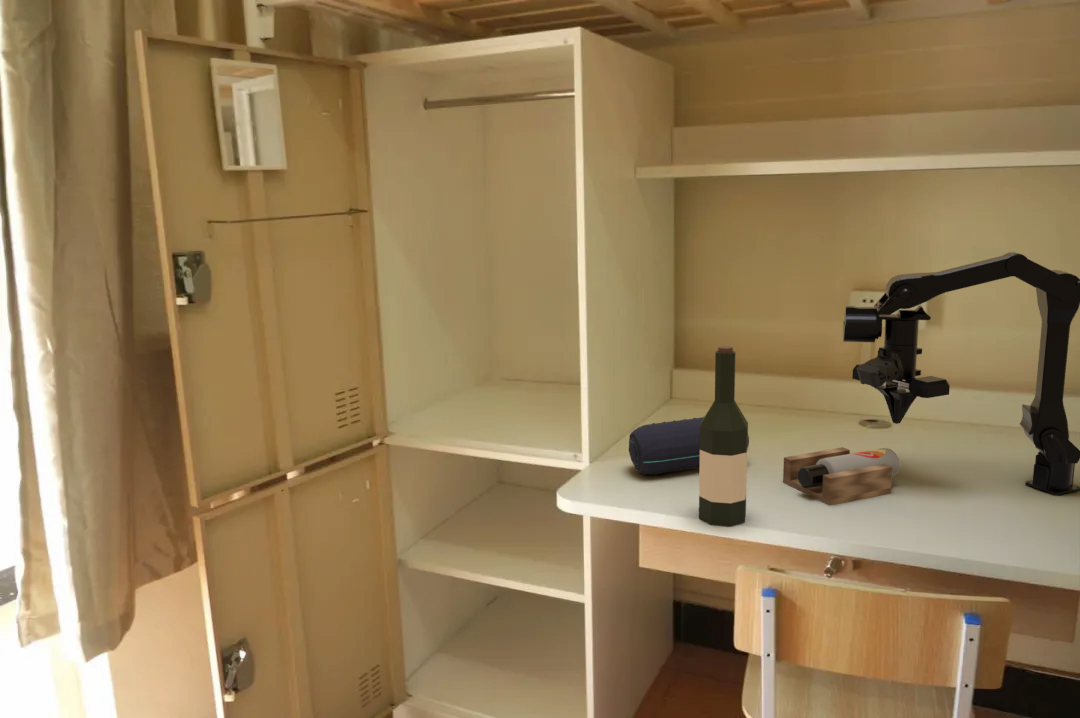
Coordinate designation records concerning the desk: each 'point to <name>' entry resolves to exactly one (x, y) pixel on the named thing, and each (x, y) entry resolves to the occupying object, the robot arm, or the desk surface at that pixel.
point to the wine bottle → (723, 450)
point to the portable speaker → (666, 446)
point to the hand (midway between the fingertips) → (896, 423)
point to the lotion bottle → (847, 465)
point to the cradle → (839, 478)
